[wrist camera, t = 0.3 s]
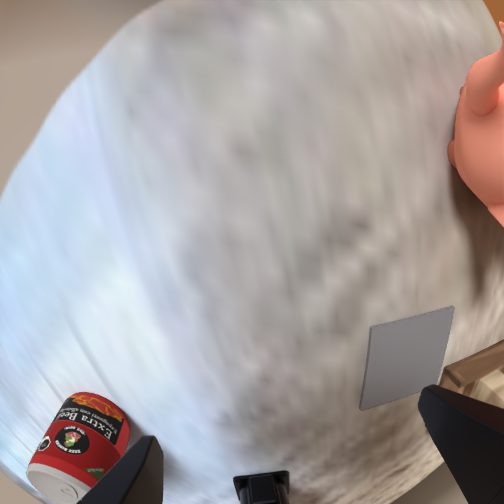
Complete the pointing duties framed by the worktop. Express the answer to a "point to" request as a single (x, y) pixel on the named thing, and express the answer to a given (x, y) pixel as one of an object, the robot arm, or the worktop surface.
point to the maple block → (491, 389)
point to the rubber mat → (405, 356)
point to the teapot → (482, 132)
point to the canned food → (78, 448)
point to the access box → (473, 370)
